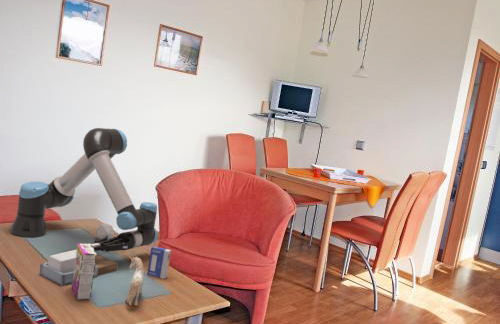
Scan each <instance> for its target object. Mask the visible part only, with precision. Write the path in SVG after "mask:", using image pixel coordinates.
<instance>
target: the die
mask: <svg viewBox="0 0 500 324" xmlns="http://www.w3.org/2000/svg"><path fill="white" fill-rule="evenodd" d="M94 230H95V235H96V238H97V239H96V240H99V239H102V238H105V237H106V236H108V237H109V238H113V237H115V233H114V227H113V225H111V224H109V223H106V222H104V223H102V224H100V225H98V226H97V227H96V228H95V229H94Z"/></svg>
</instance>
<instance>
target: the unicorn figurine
mask: <svg viewBox="0 0 500 324" xmlns="http://www.w3.org/2000/svg"><path fill="white" fill-rule="evenodd" d="M124 254H125V256H126V257H127V258H128V259H129V260H130V261H131V263H130V265H129V270H133V269H134V268H135V271H134V273H133V275H132V276H131V277H132V278H131V280H130V282H129V285H128V287H129V288H128V291H127V295H126V297H125V302H126V304H129V306H131V305H132V303H133V305H134V306H135V307H136V306H138V299H139V297H141V296H142V292H143V286H144V281H145V276H144V273H145V271H144V269H145V268H144V263H143V261H142V259H141V258H140V257H138V256H135V257H134V256H132V257H131V256H130V255H128V253H126V252H124ZM134 298H135V300H134ZM133 301H134V302H133Z"/></svg>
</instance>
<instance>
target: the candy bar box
mask: <svg viewBox="0 0 500 324" xmlns="http://www.w3.org/2000/svg"><path fill="white" fill-rule="evenodd" d="M91 244H92V243H81V242H80V243H77V247H76V250H77V252H76V260H75V267H74V275H73V282H72V283H71V288H72V290H73V293H74V296H75V298H76V300H80V301H81V300H91V298H92V291H93V283H94V278H95V277H94V270H95V263H96V256H97V255H98V254H97V251H95V250H94V248H93V247H92V245H91Z"/></svg>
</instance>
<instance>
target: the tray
mask: <svg viewBox="0 0 500 324" xmlns="http://www.w3.org/2000/svg"><path fill="white" fill-rule="evenodd" d="M98 267H99V266H95V270H94V277H93V278H97V277H98V276H97V274H98ZM39 275H40V276H42V277H44V278H46V279H48V280H49V281H52V282H54V283H55V284H57V285H59V286H65V285H70V284H72V282H73V275H74V271H73V272H69V273H64V274H63V273H61V272H59V271H57V270H55V269H53V268H51V267H49V266H48V261H47V262H44V263H40V267H39Z"/></svg>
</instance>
